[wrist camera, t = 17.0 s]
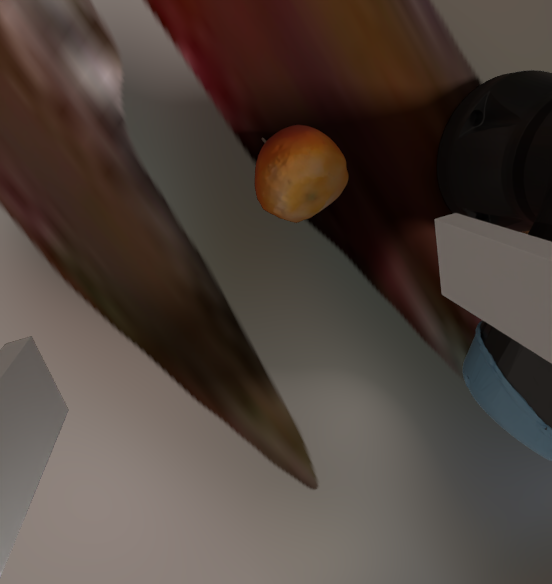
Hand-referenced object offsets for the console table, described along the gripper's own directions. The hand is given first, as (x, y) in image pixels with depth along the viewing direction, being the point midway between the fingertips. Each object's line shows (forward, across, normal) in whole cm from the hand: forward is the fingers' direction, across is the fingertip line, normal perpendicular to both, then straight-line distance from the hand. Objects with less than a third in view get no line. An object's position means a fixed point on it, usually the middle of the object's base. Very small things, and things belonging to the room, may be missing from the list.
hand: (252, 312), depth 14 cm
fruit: (+29, +8, 0) cm, 30 cm away
